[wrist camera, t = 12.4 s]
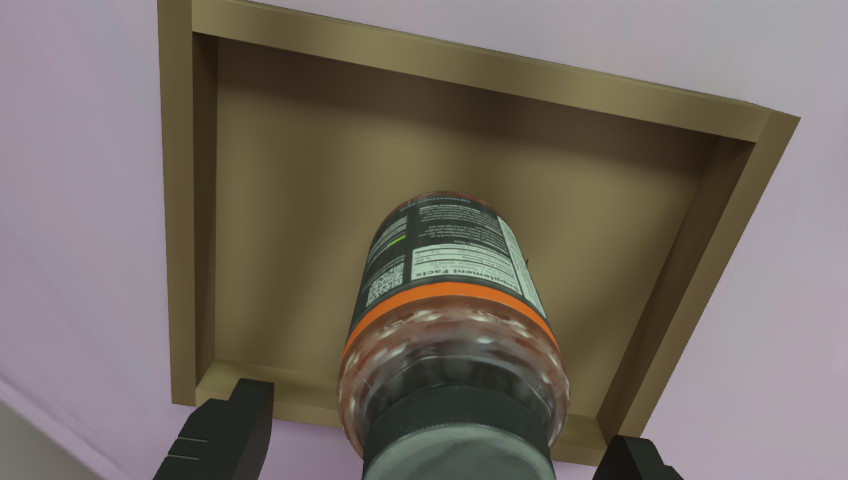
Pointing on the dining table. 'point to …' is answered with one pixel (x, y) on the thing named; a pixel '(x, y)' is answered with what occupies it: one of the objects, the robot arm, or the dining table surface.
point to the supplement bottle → (451, 351)
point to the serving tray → (429, 172)
